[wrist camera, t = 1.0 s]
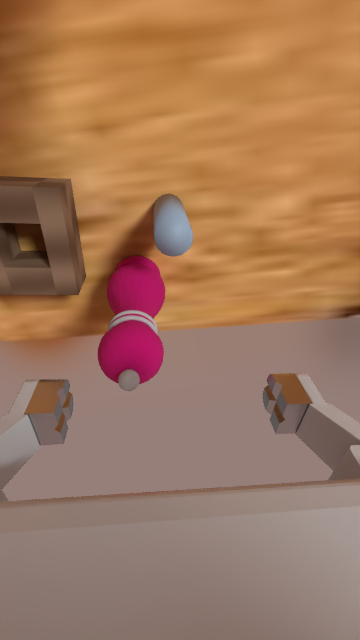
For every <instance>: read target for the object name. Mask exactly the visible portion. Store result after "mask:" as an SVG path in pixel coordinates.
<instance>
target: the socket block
mask: <svg viewBox="0 0 360 640" xmlns="http://www.w3.org/2000/svg"><path fill="white" fill-rule="evenodd" d="M13 223H32V224H41V229H42V233H43V237H44V241H45V246H46V250H47V251H21V249H20V245H19V242H18V238H17V235H16V232H15V228H14V225H13ZM85 278H86V273H85V267H84V261H83V254H82V248H81V242H80V235H79V229H78V223H77V216H76V210H75V204H74V197H73V191H72V185H71V179H56V178H30V177H4V176H0V295H78V294H79V292H80V290H81V287H82V285H83V282H84V280H85Z"/></svg>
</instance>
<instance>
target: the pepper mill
mask: <svg viewBox="0 0 360 640" xmlns="http://www.w3.org/2000/svg"><path fill="white" fill-rule="evenodd" d="M107 298H108V301H109V304H110V307H111V308H112V310H113V312H114V313H115V316H114V317H113V319H112V320H111V321H110V323H109V327H108V331H107V332H106V333H105V335H104V336H103V338H102V339H101V342H100V344H99V348H98V361H99V364H100V367H101V369H102V370H103V372H104V374H105V375H106V376H107V377H108V378H110V379H111V380H113V381H114V382H116V383H119V386H120V387H121V388H122V389H123V390H126V391H132V390H134V389H136V387H137V386H138V385H139V384H141V383H144V382H146V381H148V380H150V379H151V378H152V377H154V376H155V375H156V374H157V372H158V371H159V369H160V367H161V365H162V361H163V355H164V351H163V345H162V342H161V340H160V338H159V336H158V328H157V324H156V322H155V321H154V317H155V316H156V315H157V313H158V312H159V311H160V309H161V307H162V305H163V303H164V299H165V286H164V283H163V280H162V278H161V277H160V271H159V269H158V267H157V266H156V264H155V263H154V262H153V261H151V260H150V259H148V258H146V257H143V256H130V257H128V258H125V259H124V260H122V261H121V262H120V263H119V264H118V266H117V267H116V270H115V272H114V273H113V275H112V276H111V278H110V279H109V282H108V287H107Z"/></svg>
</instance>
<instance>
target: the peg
mask: <svg viewBox="0 0 360 640" xmlns="http://www.w3.org/2000/svg"><path fill="white" fill-rule="evenodd" d="M154 240H155V244H156V246H157V248H158V249H159V250H160V251H161V252H162V253H163V254H165V255H168V256H179V255H182V254H183V253H185V252H186V251H187V250H188V249H189V248H190V246H191V244H192V241H193V232H192V229H191V227H190V224H189V221H188V218H187V216H186V213H185V210H184V208H183V205H182V202H181V201H180V199H179V198H178V197H176V196H175V195H172V194H165V195H162V196H160V197H159V198H158V199H157V200H156V202H155V204H154Z"/></svg>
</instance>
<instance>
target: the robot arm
mask: <svg viewBox="0 0 360 640" xmlns="http://www.w3.org/2000/svg"><path fill="white" fill-rule="evenodd" d="M267 382H268V386H266V387H265V388H264V391H263V403H264V406H265V409H266V411H267V412H269V413H270V414H271V418H270V421H271V424H272V426H273V428H274V431H275V433H276V434H283V433H286V434H287V433H296V435H297V436H298V437H299V438H300V439H301V440H302V441H303V442H304V443H305V444H306V445H307V446H308V447H309V448H310V449H311V450H312V451H313V452H314V453H315V454H316V455H317V456H318V457H320V458H321V459H322V460H323V461H324V462H325V463H326V464H327V465H328V466H329V467H330V468H331V469H332V470H333V473H332V474H331V476H330V477H329V479H328V480H327V481H311V482H296V483H282V484H267V485H266V484H265V485H251V486H235V487H219V488H204V489H188V490H174V491H159V492H145V493H144V492H143V493H130V494H129V493H128V494H113V495H99V496H81V497H66V498H51V499H35V500H20V501H8V499H7V497H6V496H5V494H4V493H3V491H2V489H3V487H4V486H5V485H6V484H7V483H8V482H9V481H10V480H11V479H12V478H13V476H14V475H15V474H16V473H17V472H18V471H19V470H20V469H21V467H22V466H23V465H24V464H25V463H26V462H27V461H28V460H29V459H30V458H31V456H32V455H33V454H34V453H35V452H36V451H37V450H38V449H39V448H40V445H52V444H64V441H65V437H66V434H67V430H68V426H67V421H68V420H69V419H70V418H71V415H72V412H73V396H72V394H71V393H70V392H69V388H70V384H69V381H68V380H26V381H25V382H24V383H23V385H22V387H21V389H20V391H19V393H18V395H17V397H16V400H15V401H14V403H13V405H12V407H11V409H10V411H9V413H8V415H3V416H2V417H0V640H360V423H358V422H357V421H355V420H354V419H352V418H351V417H349V416H348V415H346V414H345V413H343V412H342V411H340V410H339V409H337V408H336V407H334V406H333V405H331V404H330V403H327V404H326V403H325V401H324V400H323V398H322V396H321V395H320V393H319V392H318V390H317V389H316V387H315V386H314V384H313V382H312V381H311V379H310V378H309V376H308V375H307V374H306V373H293V374H291V373H289V374H270V375H269V376H268V378H267Z"/></svg>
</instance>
